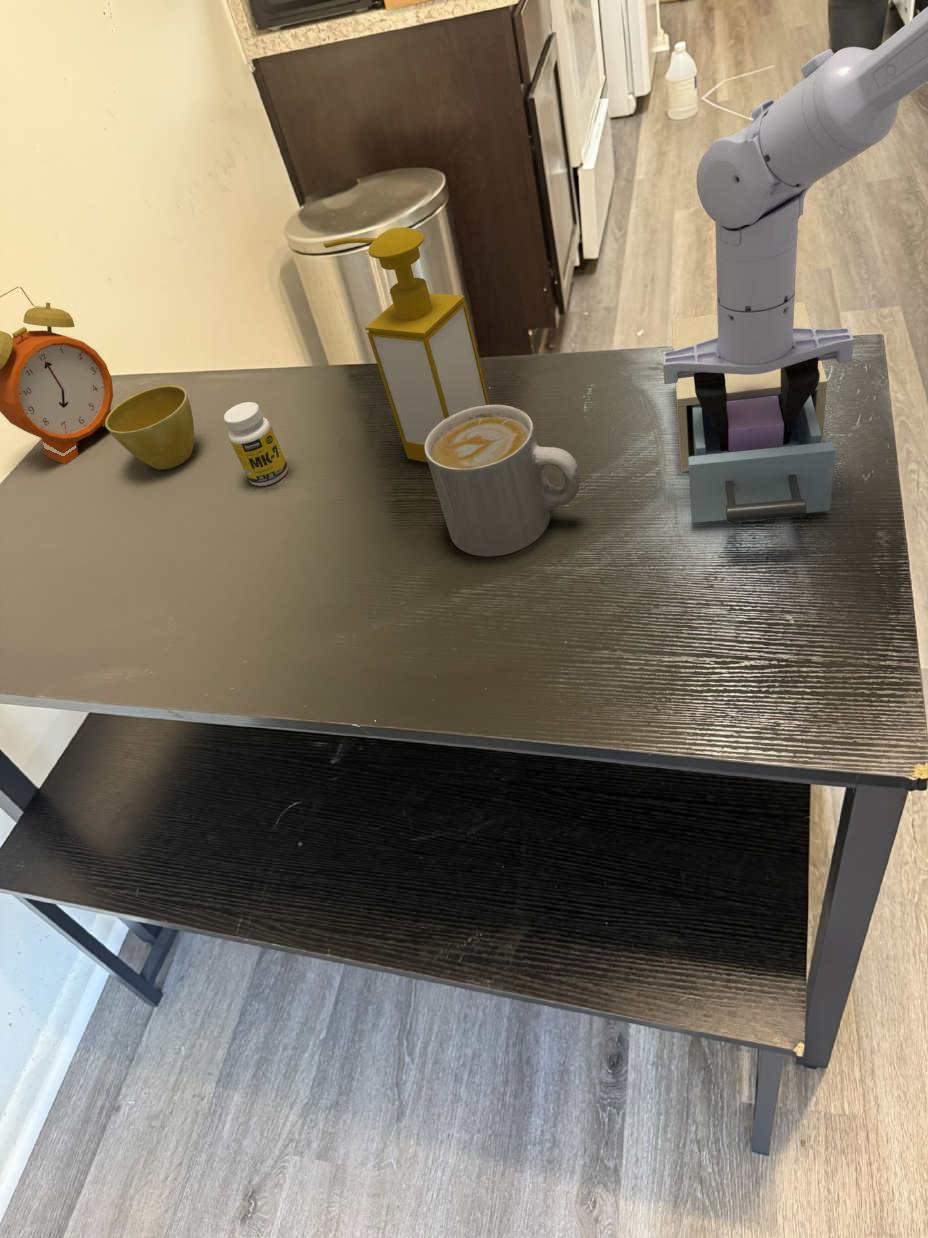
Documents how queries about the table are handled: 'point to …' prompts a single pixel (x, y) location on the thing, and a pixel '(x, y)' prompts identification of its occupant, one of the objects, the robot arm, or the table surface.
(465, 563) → the table surface
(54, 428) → the alarm clock
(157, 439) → the flower pot
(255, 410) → the supplement bottle
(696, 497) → the drawer
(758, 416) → the block
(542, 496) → the coffee mug
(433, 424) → the soap bottle
